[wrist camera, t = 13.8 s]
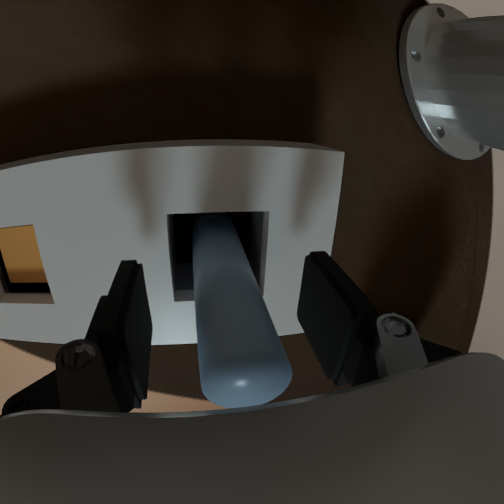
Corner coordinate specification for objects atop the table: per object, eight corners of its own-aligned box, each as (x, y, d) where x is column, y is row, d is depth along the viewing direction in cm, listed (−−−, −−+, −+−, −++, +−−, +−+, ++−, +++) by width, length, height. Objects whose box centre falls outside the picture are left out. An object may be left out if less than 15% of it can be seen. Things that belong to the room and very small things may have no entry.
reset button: (54, 212, 14) (39, 224, 12) (65, 265, 15) (53, 282, 13) (11, 217, 13) (-5, 229, 11) (23, 266, 14) (10, 282, 13)
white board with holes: (311, 143, 16) (344, 152, 12) (294, 293, 20) (315, 330, 16) (-29, 172, 11) (-65, 189, 8) (4, 302, 16) (-18, 335, 12)
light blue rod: (234, 208, 16) (298, 345, 7) (233, 246, 18) (286, 401, 8) (191, 209, 16) (197, 356, 6) (192, 248, 17) (204, 412, 7)
